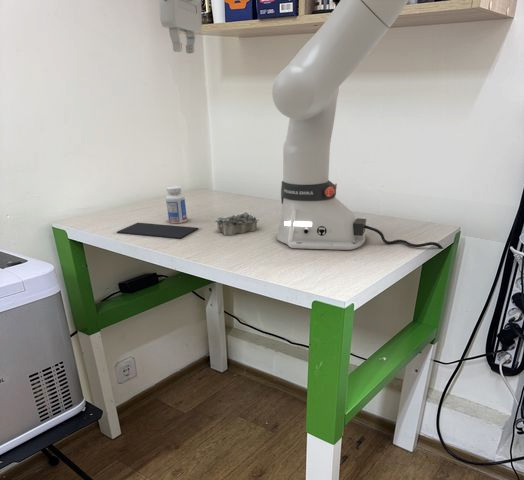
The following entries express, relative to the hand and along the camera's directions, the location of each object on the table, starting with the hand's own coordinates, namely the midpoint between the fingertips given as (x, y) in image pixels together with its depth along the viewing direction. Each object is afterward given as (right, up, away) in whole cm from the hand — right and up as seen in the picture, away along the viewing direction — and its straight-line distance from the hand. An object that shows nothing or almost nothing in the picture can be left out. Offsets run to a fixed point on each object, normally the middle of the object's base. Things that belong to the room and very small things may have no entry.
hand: (184, 52), depth 118 cm
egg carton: (+12, -41, +14) cm, 45 cm away
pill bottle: (-6, -36, +24) cm, 43 cm away
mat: (-10, -41, +15) cm, 44 cm away
